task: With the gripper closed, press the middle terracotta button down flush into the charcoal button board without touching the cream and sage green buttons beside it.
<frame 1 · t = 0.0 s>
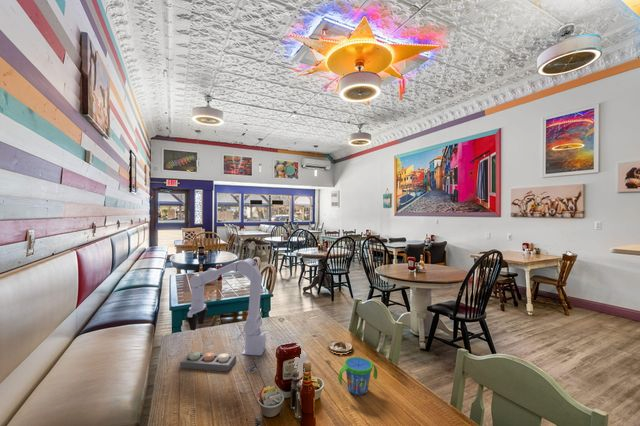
hand: (196, 326, 142), 10 cm above the table, tool pointing down, fingers open, 7 cm apart
brown white round dish: (340, 350, 144), on the table
cream button: (223, 358, 126), point 3 cm above the table, slide at 0.0 cm
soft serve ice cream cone: (295, 385, 113), on the table
snack cup: (357, 390, 111), on the table
terracotta button: (209, 357, 127), point 3 cm above the table, slide at 0.0 cm
button board: (208, 364, 127), on the table
sage button: (194, 356, 128), point 3 cm above the table, slide at 0.0 cm
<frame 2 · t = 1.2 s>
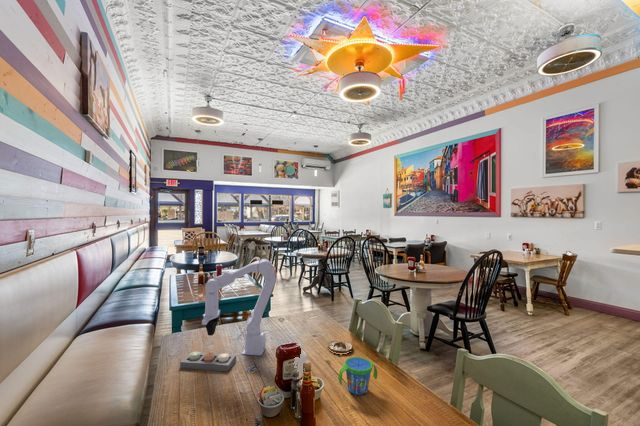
hand: (211, 334, 135), 9 cm above the table, tool pointing down, fingers closed
nothing on the table moved.
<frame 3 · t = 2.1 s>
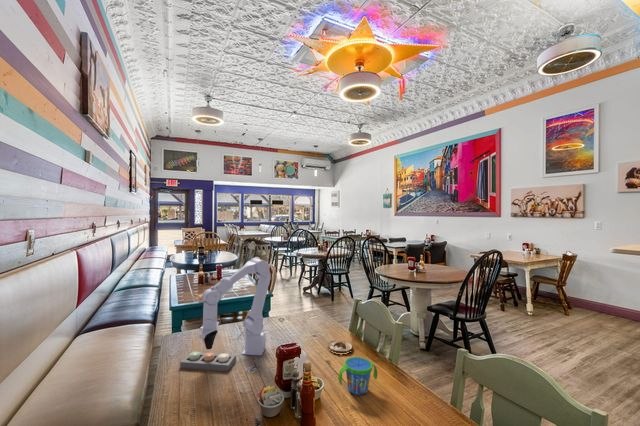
hand: (209, 348, 127), 7 cm above the table, tool pointing down, fingers closed
nothing on the table moved.
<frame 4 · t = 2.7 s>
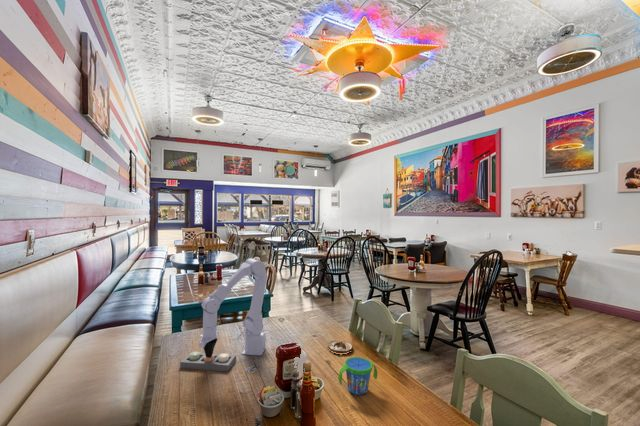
hand: (208, 356, 127), 3 cm above the table, tool pointing down, fingers closed, pressing on terracotta button
terracotta button: (209, 359, 127), point 2 cm above the table, slide at 0.8 cm, touching gripper
everything else where it was.
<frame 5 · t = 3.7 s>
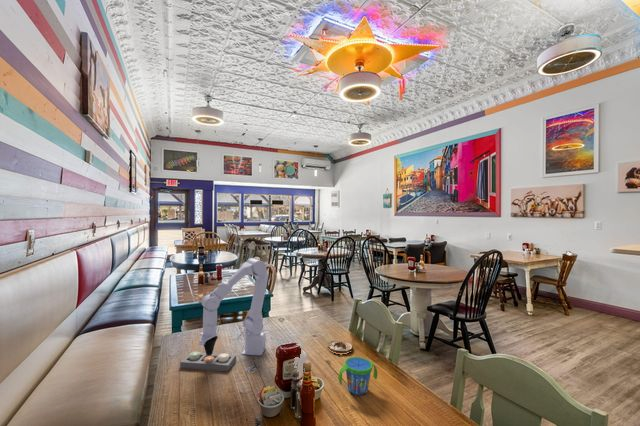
hand: (209, 354, 127), 4 cm above the table, tool pointing down, fingers closed
terracotta button: (208, 361, 127), point 1 cm above the table, slide at 1.6 cm
everything else where it was.
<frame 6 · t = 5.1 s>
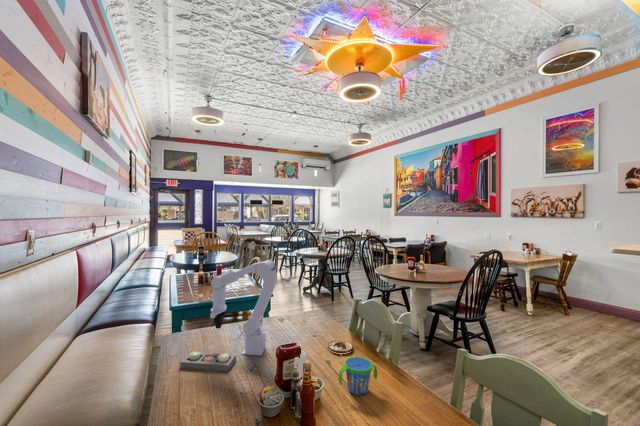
hand: (218, 327, 143), 9 cm above the table, tool pointing down, fingers closed
nothing on the table moved.
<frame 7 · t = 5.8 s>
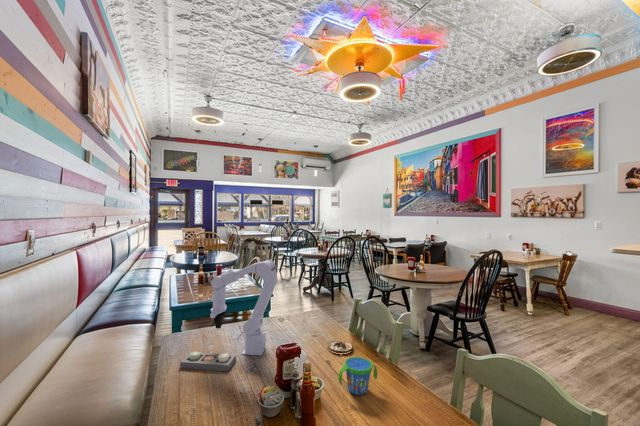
hand: (218, 327, 143), 9 cm above the table, tool pointing down, fingers closed
nothing on the table moved.
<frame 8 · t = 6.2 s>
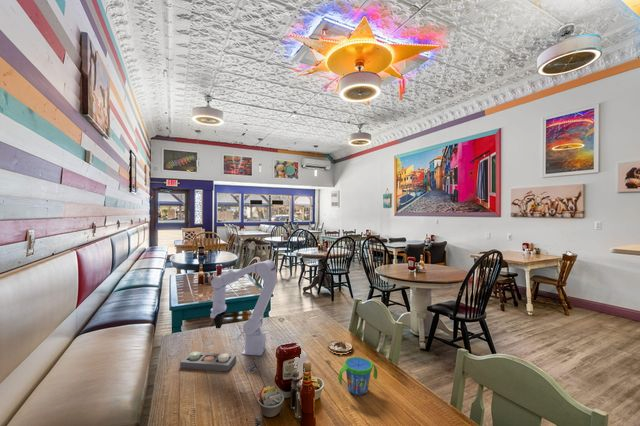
hand: (218, 327, 143), 9 cm above the table, tool pointing down, fingers closed
nothing on the table moved.
at the end: terracotta button slide at 1.6 cm; cream button slide at 0.0 cm; sage button slide at 0.0 cm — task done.
